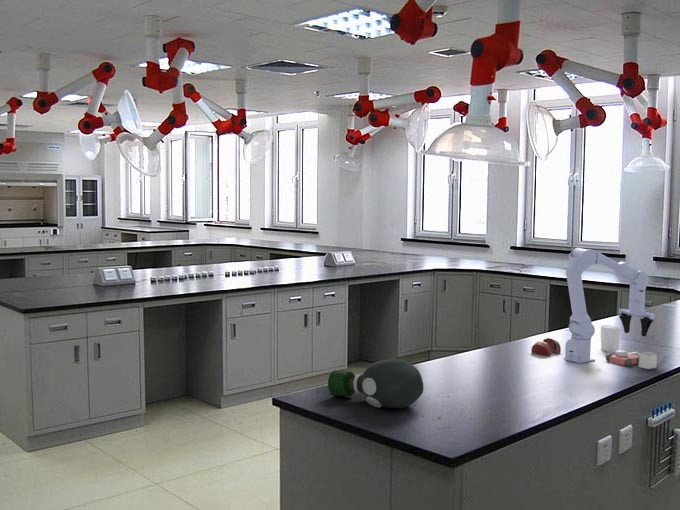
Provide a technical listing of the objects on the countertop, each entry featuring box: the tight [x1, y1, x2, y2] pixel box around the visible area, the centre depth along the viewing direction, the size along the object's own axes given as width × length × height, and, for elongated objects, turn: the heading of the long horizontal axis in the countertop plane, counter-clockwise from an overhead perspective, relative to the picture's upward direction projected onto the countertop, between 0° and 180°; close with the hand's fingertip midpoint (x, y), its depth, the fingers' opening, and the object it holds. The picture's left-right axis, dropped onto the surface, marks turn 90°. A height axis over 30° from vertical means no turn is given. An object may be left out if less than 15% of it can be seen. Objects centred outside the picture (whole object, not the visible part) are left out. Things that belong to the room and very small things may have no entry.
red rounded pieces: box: [530, 337, 562, 357], centre depth 283 cm, size 8×6×12 cm
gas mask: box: [327, 358, 424, 409], centre depth 212 cm, size 14×18×30 cm
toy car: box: [605, 349, 641, 367], centre depth 270 cm, size 18×10×4 cm, turn 122°
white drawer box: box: [638, 351, 658, 370], centre depth 261 cm, size 5×4×6 cm
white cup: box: [600, 324, 622, 353], centre depth 290 cm, size 8×8×10 cm
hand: (635, 334), depth 275 cm, fingers open, 7 cm apart
